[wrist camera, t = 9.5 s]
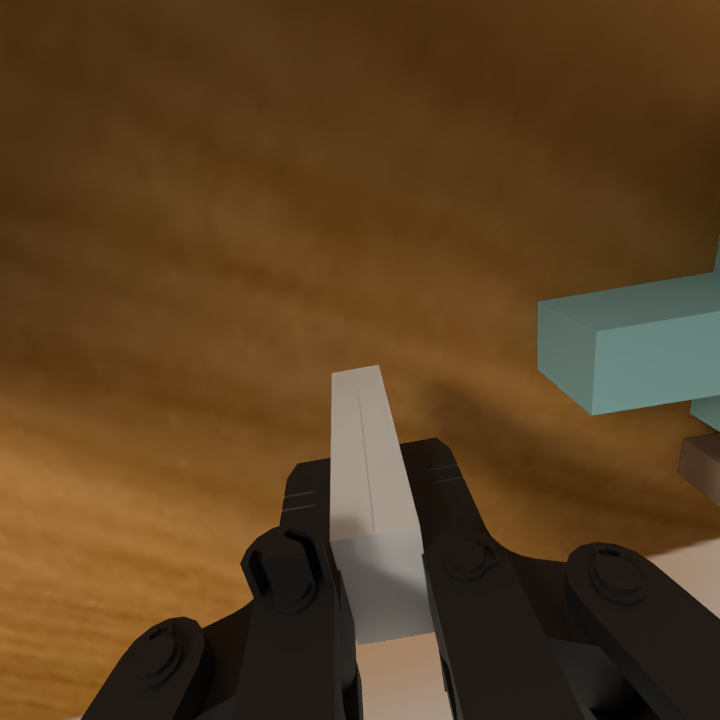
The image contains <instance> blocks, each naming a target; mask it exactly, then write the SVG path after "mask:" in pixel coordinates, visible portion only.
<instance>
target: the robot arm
mask: <svg viewBox="0 0 720 720" xmlns="http://www.w3.org/2000/svg"><path fill="white" fill-rule="evenodd" d="M282 510H283V512H282V513H281V519H280V526H278V527H275V528H272V529H270V530H269V531H267V532H266V533H264V534H263V535H261V536H260V537H258V538H257V539H256V540H255V541H254V542H253V543H252V544H251V546H250V547H249V548H248V549H247V550H246V552H245V554H244V557H243V559H242V561H241V563H240V565H241V567H242V570H243V572H244V575H245V577H246V580H247V582H248V584H249V587H250V589H251V592H252V594H253V597H254V599H253V600H252V601H251V602H249V603H248V604H247V605H246V606H245V607H243V608H241V609H240V610H238V611H236V612H235V613H233V614H231V615H229V616H227V617H225V618H223V619H221V620H219V621H217V622H215V623H213V624H211V625H209V626H206V627H204V628H201V627H200V626H199V624H198V623H197V621H195V620H192V619H190V618H187V617H178V618H170V619H167V620H165V621H163V622H161V623H159V624H157V625H155V626H152V627H151V628H150V629H149V630H147V631H146V632H145V633H144V634H142V635H141V636H140V637H139V638H137V639H136V640H135V641H134V642H133V644H132V645H131V646H130V647H129V649H128V650H127V651H126V652H125V653H124V655H123V656H122V657H121V659H120V660H119V662H118V663H117V665H116V666H115V668H114V669H113V671H112V672H111V674H110V676H109V677H108V679H107V680H106V682H105V683H104V685H103V686H102V688H101V689H100V691H99V692H98V694H97V695H96V697H95V699H94V700H93V702H92V703H91V705H90V706H89V708H88V709H87V711H86V712H85V714H84V715H83V717H82V719H81V720H363V703H362V685H361V678H360V673H359V669H358V665H357V662H356V644H355V636H356V639H357V643H358V645H362V644H368V643H374V642H379V641H385V640H391V639H397V638H402V637H408V636H414V635H420V634H426V633H431V632H435V634H436V638H437V643H438V647H439V654H440V660H441V667H442V674H443V681H444V687H445V691H447V693H448V698H449V702H450V707H451V712H452V716H453V720H720V619H719V618H718V617H717V616H715V615H714V614H713V613H712V612H711V611H709V610H708V609H707V608H706V607H704V606H703V605H702V604H701V603H700V602H699V601H697V600H696V599H695V598H694V597H693V596H691V595H690V594H689V593H688V592H687V591H686V590H684V589H683V588H682V587H681V586H680V585H678V584H677V583H676V582H675V581H673V580H672V579H671V578H670V577H669V576H668V575H666V574H665V573H664V572H663V571H662V570H660V569H659V568H658V567H657V566H656V565H654V564H653V563H652V562H650V561H649V560H647V559H646V558H644V557H643V556H641V555H640V554H638V553H637V552H635V551H633V550H630V549H627V548H624V547H622V546H619V545H616V544H609V543H599V542H595V543H590V544H586V545H581V546H580V547H578V548H577V549H576V550H574V551H573V552H572V553H570V555H569V558H568V561H567V562H559V561H550V560H542V559H534V558H530V557H525V556H521V555H519V554H516V553H514V552H511V551H509V550H508V549H506V548H505V547H503V546H501V545H500V544H499V543H498V542H497V541H496V540H495V539H494V538H493V537H492V536H491V535H490V534H489V532H488V530H487V529H486V527H485V525H484V523H483V520H482V518H481V516H480V514H479V511H478V509H477V507H476V505H475V503H474V500H473V498H472V496H471V494H470V491H469V489H468V487H467V485H466V483H465V480H464V479H463V477H462V474H461V472H460V469H459V467H458V466H457V463H456V460H455V458H454V456H453V454H452V452H451V449H450V448H449V447H448V446H446V445H445V444H444V443H443V442H441V441H440V440H439V439H437V438H431V439H426V440H420V441H414V442H409V443H403V444H399V442H398V438H397V434H396V431H395V427H394V423H393V419H392V415H391V411H390V407H389V403H388V399H387V395H386V392H385V388H384V384H383V380H382V376H381V372H380V368H379V365H374V366H369V367H363V368H357V369H352V370H346V371H341V372H335V373H332V400H331V458H327V459H321V460H316V461H310V462H304V463H299V464H297V465H296V467H295V468H294V470H293V471H292V473H291V474H290V475H289V477H288V478H287V483H286V489H285V498H284V501H283V507H282Z"/></svg>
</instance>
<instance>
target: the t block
mask: <svg viewBox="0 0 720 720" xmlns="http://www.w3.org/2000/svg"><path fill="white" fill-rule="evenodd" d="M537 369H538V370H539V371H540V372H541V373H542V374H543V375H545V376H546V377H547V378H548V379H549V380H550V381H552V382H553V383H554V384H555V385H556V386H557V387H559V388H560V389H561V390H562V391H563V392H564V393H566V394H567V395H568V396H569V397H570V398H571V399H573V400H574V401H575V402H576V403H577V404H578V405H579V406H581V407H582V408H583V409H584V410H585V411H586V412H588V413H589V414H590V415H591V416H593V415H599V414H605V413H612V412H618V411H624V410H630V409H636V408H643V407H649V406H655V405H661V404H667V403H673V402H680V401H686V400H692V402H691V408H690V414H691V415H693V416H695V417H696V418H698V419H699V420H701V421H703V422H704V423H706V424H708V425H709V426H711V427H713V428H714V429H716V430H717V431H719V432H720V236H719V242H718V248H717V254H716V260H715V266H714V271H713V272H709V273H703V274H697V275H691V276H686V277H680V278H674V279H668V280H662V281H656V282H650V283H644V284H638V285H632V286H626V287H620V288H614V289H609V290H603V291H597V292H591V293H585V294H579V295H573V296H567V297H561V298H555V299H549V300H543V301H538V342H537Z"/></svg>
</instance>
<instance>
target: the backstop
mask: <svg viewBox="0 0 720 720" xmlns="http://www.w3.org/2000/svg"><path fill="white" fill-rule="evenodd" d="M678 474H680V475H681V476H682V477H683V478H684V479H686V480H687V481H688V482H689V483H691V484H692V485H693V486H694V487H696V488H697V489H698V490H699V491H701V492H702V493H703V494H704V495H705V496H707V497H708V498H709V499H710V500H712V501H713V502H714V503H715V504H717V505H718V506H719V507H720V433H717V434H710V435H704V436H698V437H692V438H686V439H684V440H683V446H682V453H681V459H680V465H679V472H678Z"/></svg>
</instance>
